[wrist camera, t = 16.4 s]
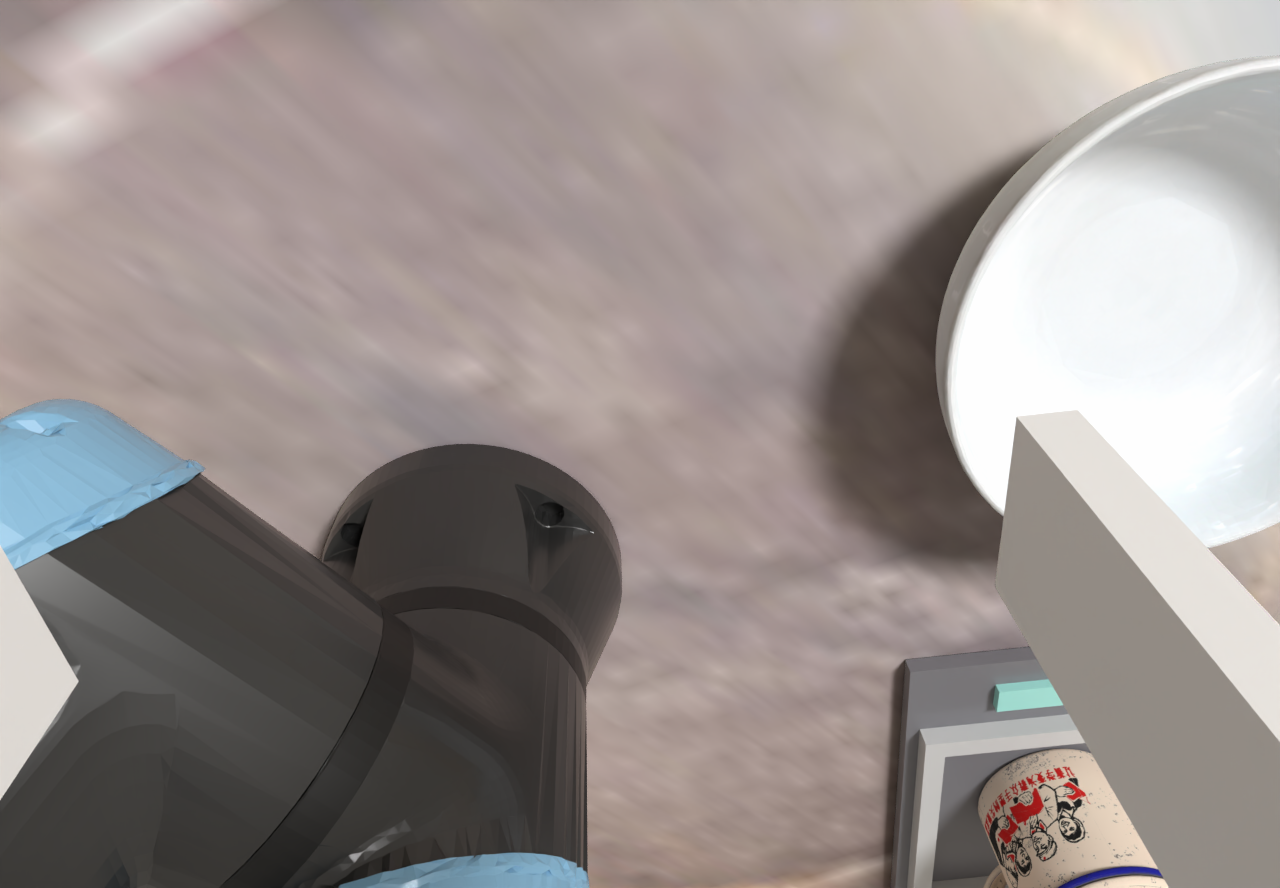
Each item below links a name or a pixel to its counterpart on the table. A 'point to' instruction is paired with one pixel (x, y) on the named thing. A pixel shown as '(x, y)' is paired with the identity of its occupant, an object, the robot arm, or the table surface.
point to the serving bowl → (1135, 298)
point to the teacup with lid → (1061, 827)
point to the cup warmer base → (965, 757)
